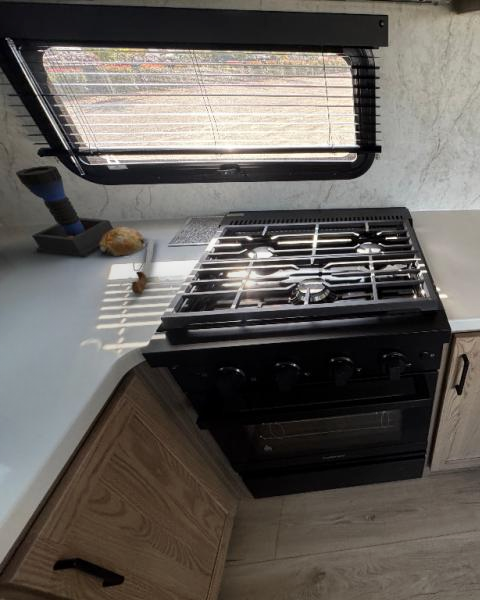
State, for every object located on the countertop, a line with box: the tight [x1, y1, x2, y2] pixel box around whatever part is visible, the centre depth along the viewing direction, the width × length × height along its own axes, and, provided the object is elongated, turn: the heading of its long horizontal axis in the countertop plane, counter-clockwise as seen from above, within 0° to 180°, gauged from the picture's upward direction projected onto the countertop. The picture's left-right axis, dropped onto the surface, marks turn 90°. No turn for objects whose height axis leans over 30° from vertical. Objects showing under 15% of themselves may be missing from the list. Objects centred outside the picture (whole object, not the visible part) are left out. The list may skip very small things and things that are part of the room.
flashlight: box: [15, 165, 85, 237], centre depth 94 cm, size 8×8×20 cm
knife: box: [131, 239, 155, 294], centre depth 91 cm, size 4×1×30 cm
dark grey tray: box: [31, 216, 114, 258], centre depth 100 cm, size 15×13×6 cm
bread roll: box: [99, 226, 146, 257], centre depth 99 cm, size 10×10×8 cm
